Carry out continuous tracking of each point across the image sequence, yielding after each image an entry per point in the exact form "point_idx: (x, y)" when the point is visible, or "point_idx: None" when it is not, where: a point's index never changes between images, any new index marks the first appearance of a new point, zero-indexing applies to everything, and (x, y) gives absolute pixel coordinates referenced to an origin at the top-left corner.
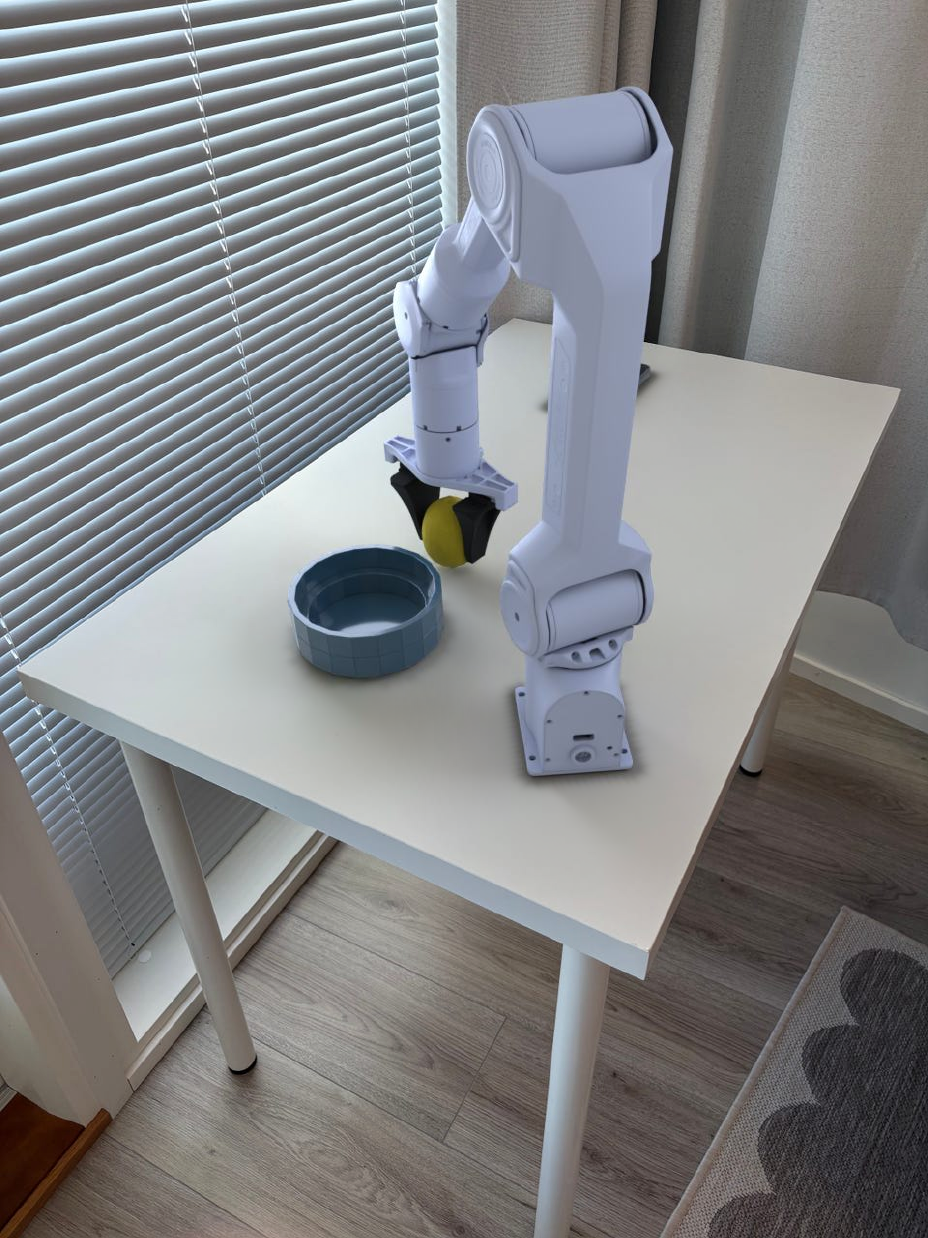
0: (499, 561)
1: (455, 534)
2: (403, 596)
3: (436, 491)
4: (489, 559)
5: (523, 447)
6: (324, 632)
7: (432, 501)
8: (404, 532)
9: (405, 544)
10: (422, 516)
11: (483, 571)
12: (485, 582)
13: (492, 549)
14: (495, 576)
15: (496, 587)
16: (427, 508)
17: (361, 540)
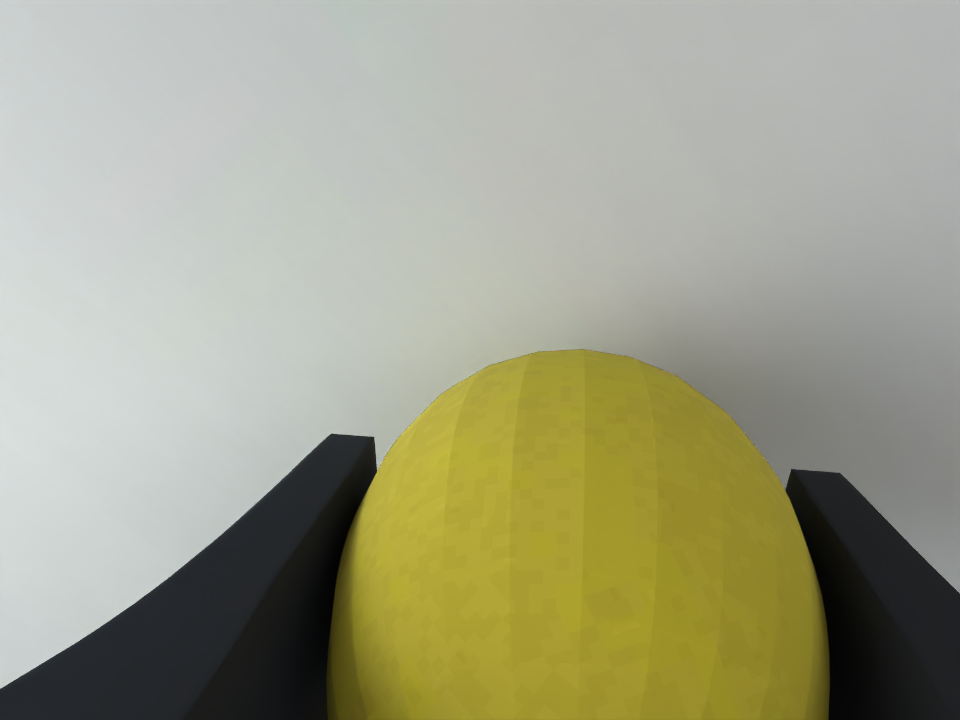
0: (800, 200)
1: None
2: None
3: (223, 715)
4: (723, 221)
5: None
6: None
7: (269, 685)
8: (90, 295)
9: (198, 378)
10: (316, 700)
11: (757, 341)
12: (826, 414)
13: (675, 110)
14: (856, 342)
15: (914, 418)
16: (294, 699)
17: (20, 464)
